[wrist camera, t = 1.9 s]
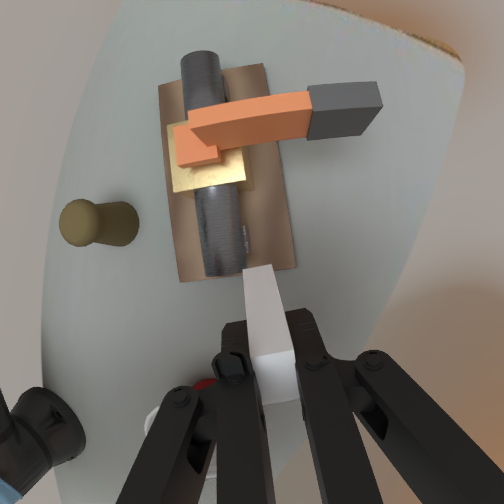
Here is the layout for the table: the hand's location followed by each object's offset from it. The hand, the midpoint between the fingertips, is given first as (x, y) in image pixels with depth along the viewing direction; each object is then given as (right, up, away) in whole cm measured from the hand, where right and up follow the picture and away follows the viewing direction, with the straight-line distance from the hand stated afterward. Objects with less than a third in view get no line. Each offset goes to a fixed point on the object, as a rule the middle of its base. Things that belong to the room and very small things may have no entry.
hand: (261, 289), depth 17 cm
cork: (-18, +6, +24) cm, 31 cm away
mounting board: (-4, +12, +22) cm, 26 cm away
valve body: (-4, +12, +21) cm, 24 cm away
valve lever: (+1, +12, +12) cm, 17 cm away
